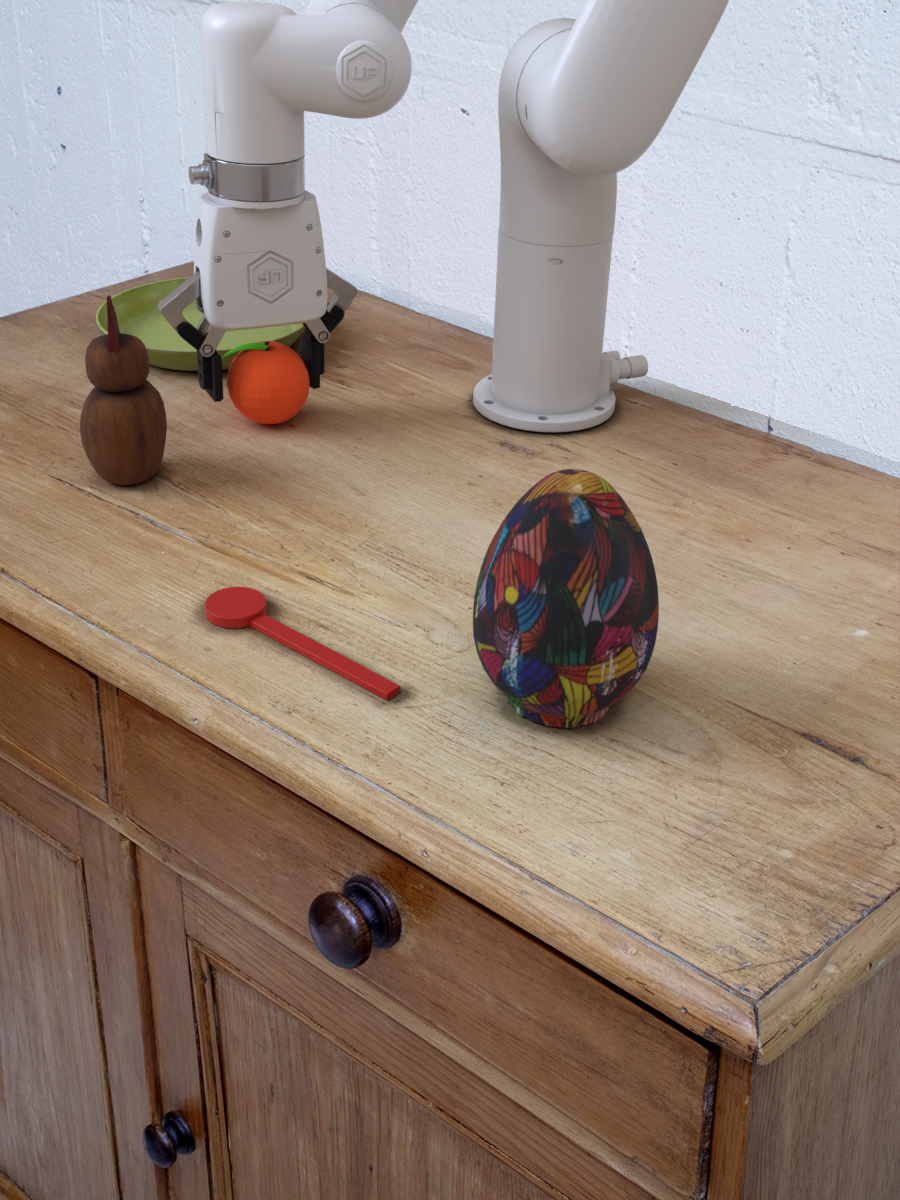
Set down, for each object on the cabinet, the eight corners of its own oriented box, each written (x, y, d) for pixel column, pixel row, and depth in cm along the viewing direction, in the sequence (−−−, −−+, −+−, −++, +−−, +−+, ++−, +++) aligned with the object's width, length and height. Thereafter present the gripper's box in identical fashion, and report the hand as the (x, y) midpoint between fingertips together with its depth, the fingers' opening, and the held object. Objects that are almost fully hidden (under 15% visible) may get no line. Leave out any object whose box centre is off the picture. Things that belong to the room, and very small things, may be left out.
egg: (632, 649, 84) (658, 433, 76) (661, 753, 75) (693, 520, 67) (465, 648, 83) (474, 431, 75) (474, 753, 74) (484, 519, 66)
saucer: (141, 299, 138) (138, 269, 136) (334, 314, 136) (334, 283, 134) (65, 372, 120) (61, 339, 119) (285, 390, 118) (284, 356, 116)
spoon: (416, 682, 80) (416, 671, 80) (371, 711, 77) (371, 700, 77) (238, 590, 89) (237, 579, 88) (192, 613, 86) (191, 602, 86)
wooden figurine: (147, 498, 100) (127, 307, 92) (76, 489, 100) (50, 299, 93) (181, 461, 105) (164, 277, 97) (113, 453, 106) (92, 270, 98)
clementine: (217, 439, 109) (210, 358, 105) (216, 406, 115) (211, 328, 111) (313, 436, 110) (311, 355, 106) (308, 403, 116) (305, 325, 112)
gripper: (158, 197, 96) (173, 420, 105) (378, 182, 102) (374, 392, 112) (132, 173, 101) (149, 386, 111) (343, 160, 108) (342, 361, 117)
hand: (262, 388), depth 111 cm, fingers closed on clementine, 8 cm apart
